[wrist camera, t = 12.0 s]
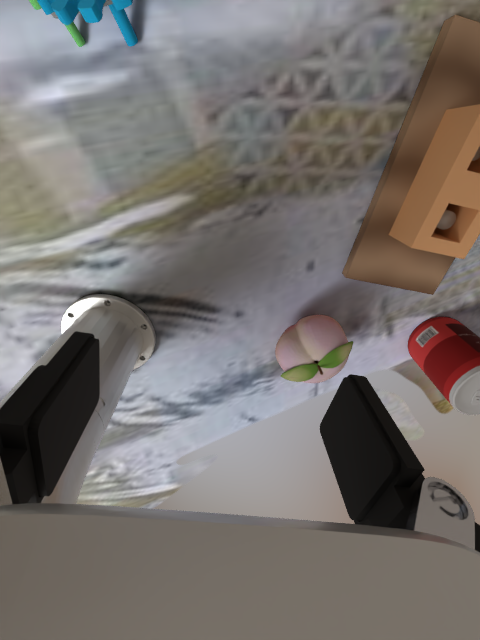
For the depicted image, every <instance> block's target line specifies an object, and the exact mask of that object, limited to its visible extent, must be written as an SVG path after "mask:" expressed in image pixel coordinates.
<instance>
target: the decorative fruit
mask: <svg viewBox="0 0 480 640" xmlns="http://www.w3.org/2000/svg"><path fill="white" fill-rule="evenodd" d="M352 345H353V341H351V342H348V341H347V338H346V335H345V333H344V331H343V329H342V327H341V326H340V324H339V323H338V322H337V321H336V320H335V319H333V318H331V317H329V316H326V315H311V316H307V317H304V318H302V319H300V320H299V321H298V322H297V323H296V324H295V325H292V326H290V327H289V328H287V329H286V330H285V332H284V333H283V334H282V336H281V337H280V339H279V340H278V342H277V345H276V350H275V354H276V358H277V361H278V363H279V364H280V366H281V367H282V369H283V370H284V371H285V372H284V373H283V374H282V375H281V377H283V378H284V379H287V380H290V381H296V382H306V383H319V382H323V381H326V380H328V379H330V378H332V377H333V376H335V375H336V374H337V373H339V372H340V371H341V370H342V368H343V367H344V366H345V364H346V362H347V360H348V356H349V353H350V351H351V349H352Z"/></svg>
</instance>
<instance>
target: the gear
mask: <svg viewBox="0 0 480 640" xmlns="http://www.w3.org/2000/svg"><path fill="white" fill-rule="evenodd" d="M29 1H30V3H31V4H32V6H33V7H34V8H35V9H36V10H38V9H41V8H42V9H43V10H44V12H45V13H46V15H49V14H52V16H53V17H54V18H59V20H60V21H61V22H62V23H63V24H65V26H66V27H67V29H68V31H69V32H70V34H71V35H72V37H73V38H74V40H75V42H76V43H77V45H78V46H79V47H81V46H83V45H84V44H85V40H84V39H83V37H82V35H81V34H80V32H79V30H78V29H77V27H76V25H75V24H74V22H73V21H74V19H75V17H76V15H77V14H78V13H81V14H82V16H83V18H84V19H85V21H86V22H88V23H95V22H99V21H100V20H101V19H102V16H103V14H102V9H103V6H107V5H108V6H109V8H110V10H111V12H112V14H113V16H114V18H115V20H116V22H117V24H118V26H119V28H120V30H121V32H122V34H123V36H124V38H125V40H126V42H127V45H128V46H134V45H135V44H136V43H137V42H138V39H137V37H136V34H135V32H134V30H133V28H132V26H131V23H130V21H129V19H128V17H127V14H126V12H125V10H124V8H126V7H128V6H130V5H132V3H133V0H29Z"/></svg>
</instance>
